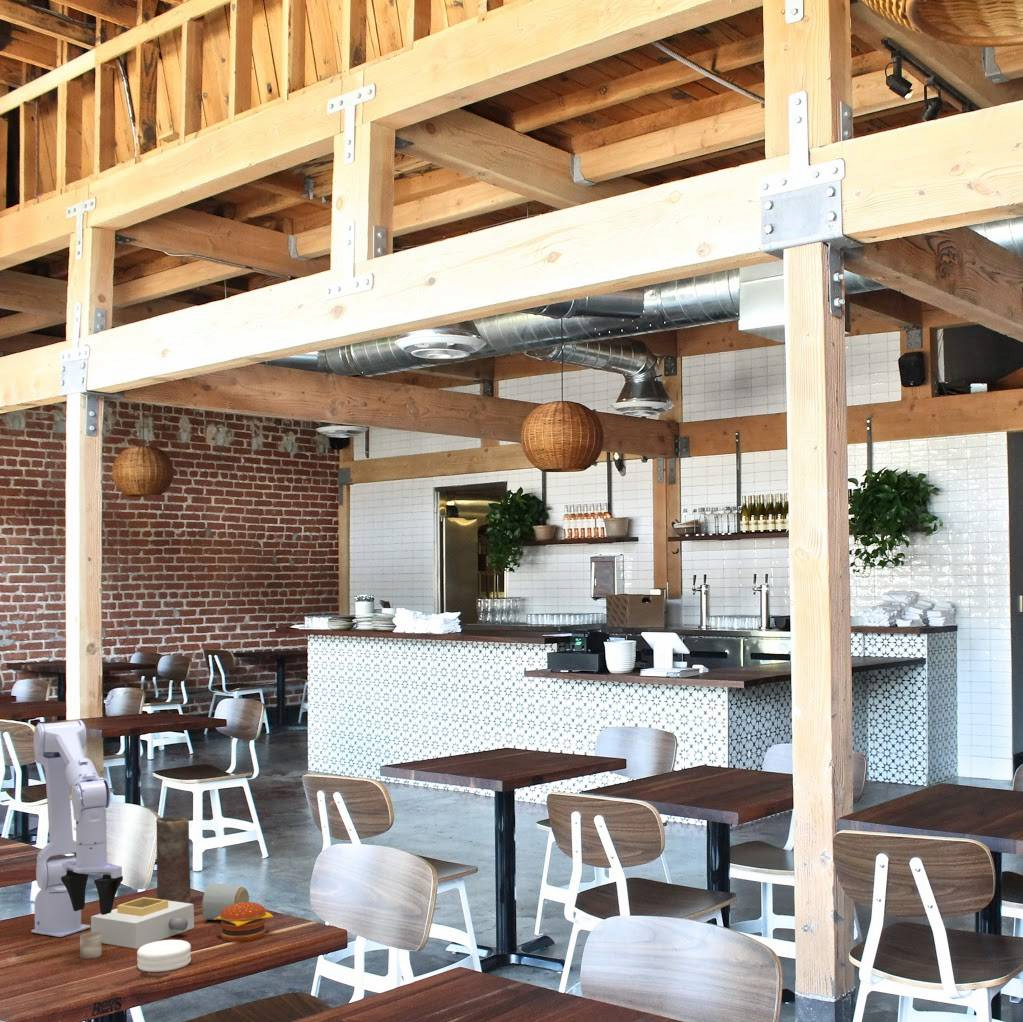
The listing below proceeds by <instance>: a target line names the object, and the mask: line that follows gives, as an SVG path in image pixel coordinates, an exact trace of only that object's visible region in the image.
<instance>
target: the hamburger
mask: <svg viewBox="0 0 1023 1022" xmlns="http://www.w3.org/2000/svg"><path fill="white" fill-rule="evenodd" d="M268 918H269V919H270V918H274V916H273V915H272V914H271V913H270V912H267V911H266V908H265V906H263V905H262V904H260V903H257V902H251V901H249V902H240V903H235V904H232V905H230V906H228V907H226V908H224V909H223V910H222V911H221V914H220V916H219V917H217V918H214V920H213V921H217V920H216V919H220V920H219V921H220V927H221V930H222V931H221V933H220V934H221V939H222V940H224V941H226V942H233V943H235V942H237V943H239V942H240V943H241V942H250V941H254V940H258V939H260V938H263V937H264V936H265V935H266V933H267V930H266V927H265V925H266V919H268Z"/></svg>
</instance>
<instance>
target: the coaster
mask: <svg viewBox="0 0 1023 1022" xmlns="http://www.w3.org/2000/svg"><path fill="white" fill-rule="evenodd" d="M191 949H192V946H191V943H189V942H188V941H187V940H182V939H162V940H159V941H156V942H152V943H148V944H146V945H143V946H141V947H139V948H137V951H136V954H137V958H136V961H137V964H136V966H137V968H138V969H139V970H140V971H143V972H148V973H149V972H152V973H159V972H169V971H174V970H177V969H181V968H183V967H186V966H188V965H189V964H190V963H191V961H192V957H191V955H192V950H191Z"/></svg>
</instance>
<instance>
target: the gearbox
mask: <svg viewBox="0 0 1023 1022" xmlns="http://www.w3.org/2000/svg"><path fill="white" fill-rule="evenodd" d="M194 905H195V904H194V903H190V902H189V903H183V902H175V901H168V900H161V899H157V898H153V897H146V896H145V897H144V896H142V897H139V898H136V899H133V900H131V901H127V902H124V903H120V904H118V905H117V906H116V907H117V908H114V909H113V908H112V911H111V913H108V914H105V915H101V913H97V914H95V915H91V916H90V933H91V932H99V933H101V943H102V944H105V945H112V946H117V947H124V948H129V949H130V948H131V949H137V950H138V949H139V948H140V947H141V946H143V945H146V944H148V943H152V942H156V941H163V940H166V939H167V938H170V937H172V936H175V935H178V934H182V933H185V932H187V931H190V930H193V929H194V928H195V906H194Z"/></svg>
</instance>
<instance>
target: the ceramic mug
mask: <svg viewBox="0 0 1023 1022" xmlns="http://www.w3.org/2000/svg"><path fill="white" fill-rule="evenodd" d="M240 902H250V895H249V892H248V890H247V888H246V887H244V886H243V885H242V886H241V885H237V884H236V885H235V884H227V883H219V882H218V883H217V882H211V883H210V884H208V885H207V887H206V888H205V890H204V893H203V897H202V901H201V903H202V905H201V909H202V914H203V917H204V918H205V920H207V921H221V920H220V919H216V920H214V918H217V917H219V916H220V914H221V911H222V910H223V909H224V908H226V907H228V906H230V905H232V904H235V903H240Z"/></svg>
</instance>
